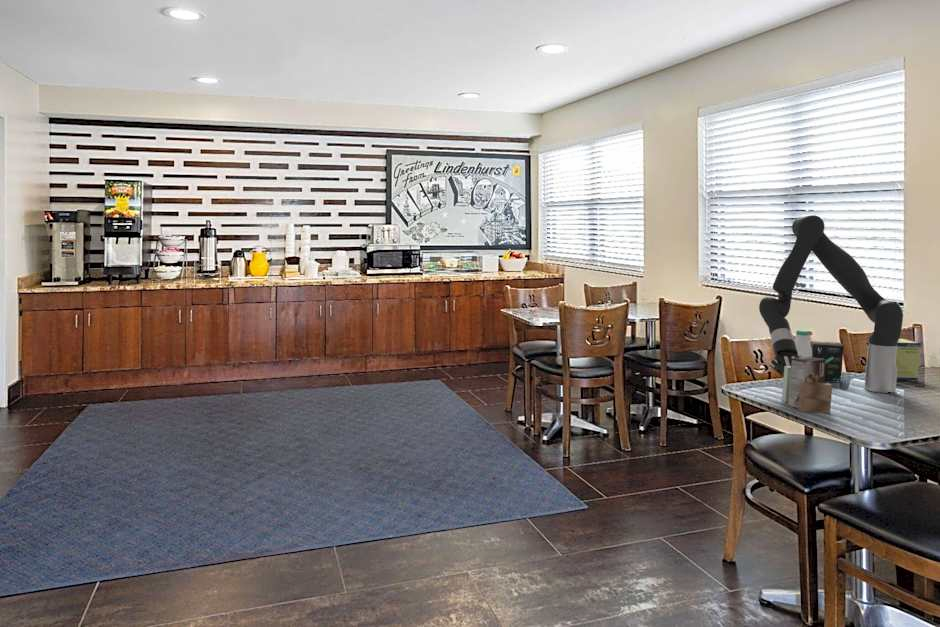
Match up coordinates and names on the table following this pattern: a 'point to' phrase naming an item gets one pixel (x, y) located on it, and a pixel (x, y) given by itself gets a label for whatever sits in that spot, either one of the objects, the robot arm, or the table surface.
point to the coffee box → (804, 375)
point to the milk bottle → (803, 344)
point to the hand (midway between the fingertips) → (794, 385)
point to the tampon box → (829, 358)
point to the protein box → (907, 359)
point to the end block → (814, 397)
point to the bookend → (786, 383)
